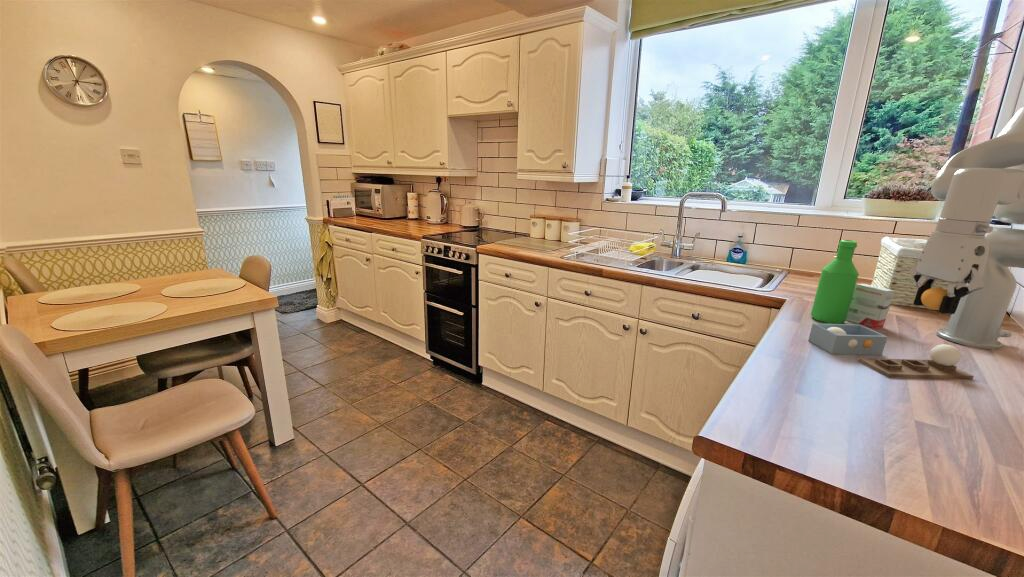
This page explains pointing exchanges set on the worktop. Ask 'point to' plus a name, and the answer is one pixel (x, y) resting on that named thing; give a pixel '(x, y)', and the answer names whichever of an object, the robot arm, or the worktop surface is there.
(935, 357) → the cream ball on rack
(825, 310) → the bottle
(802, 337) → the worktop surface
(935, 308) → the orange ball
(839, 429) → the worktop surface
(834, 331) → the cream ball in tray
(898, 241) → the basket
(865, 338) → the pale blue tray
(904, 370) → the walnut rack
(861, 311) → the ink box
